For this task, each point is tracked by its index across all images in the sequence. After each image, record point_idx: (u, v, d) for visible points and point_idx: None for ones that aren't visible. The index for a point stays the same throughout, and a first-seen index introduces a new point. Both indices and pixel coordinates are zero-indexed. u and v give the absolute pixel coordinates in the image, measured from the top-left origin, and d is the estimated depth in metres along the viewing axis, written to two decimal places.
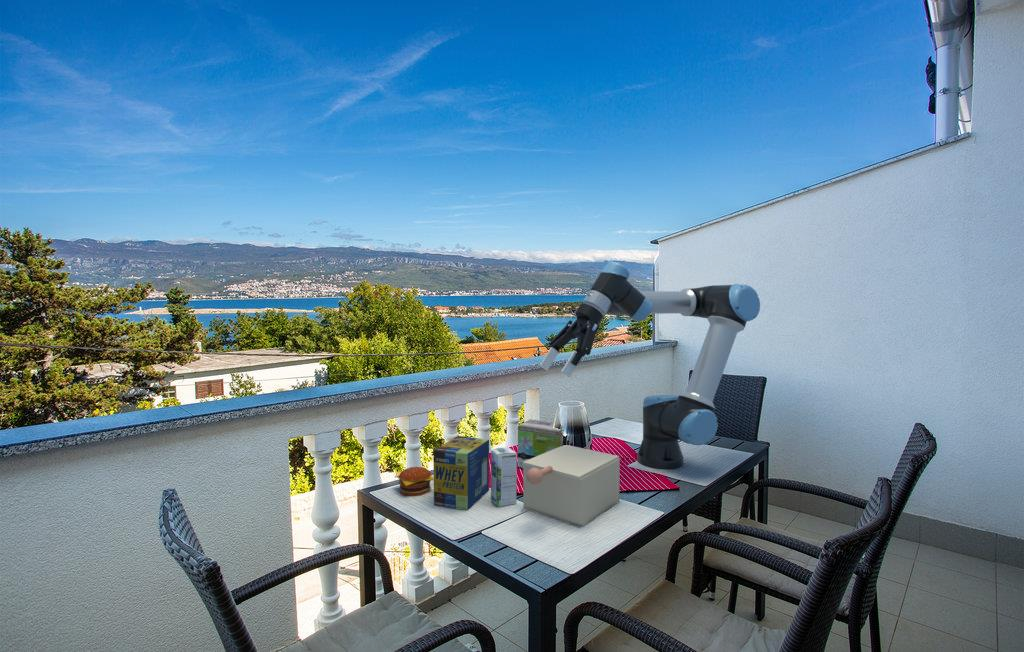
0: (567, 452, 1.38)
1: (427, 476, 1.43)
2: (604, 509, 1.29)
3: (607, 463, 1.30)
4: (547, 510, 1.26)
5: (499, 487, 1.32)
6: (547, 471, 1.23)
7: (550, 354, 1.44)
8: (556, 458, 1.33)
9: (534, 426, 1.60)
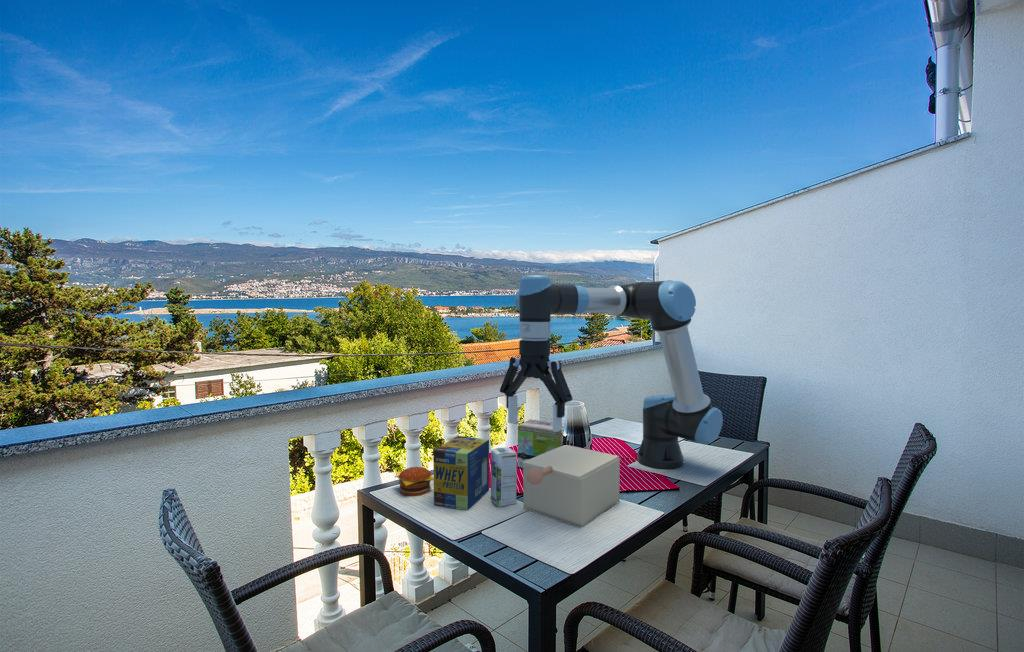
0: (567, 452, 1.38)
1: (427, 476, 1.43)
2: (604, 509, 1.29)
3: (607, 463, 1.30)
4: (547, 510, 1.26)
5: (499, 487, 1.32)
6: (547, 471, 1.23)
7: (512, 404, 1.23)
8: (556, 458, 1.33)
9: (534, 426, 1.60)
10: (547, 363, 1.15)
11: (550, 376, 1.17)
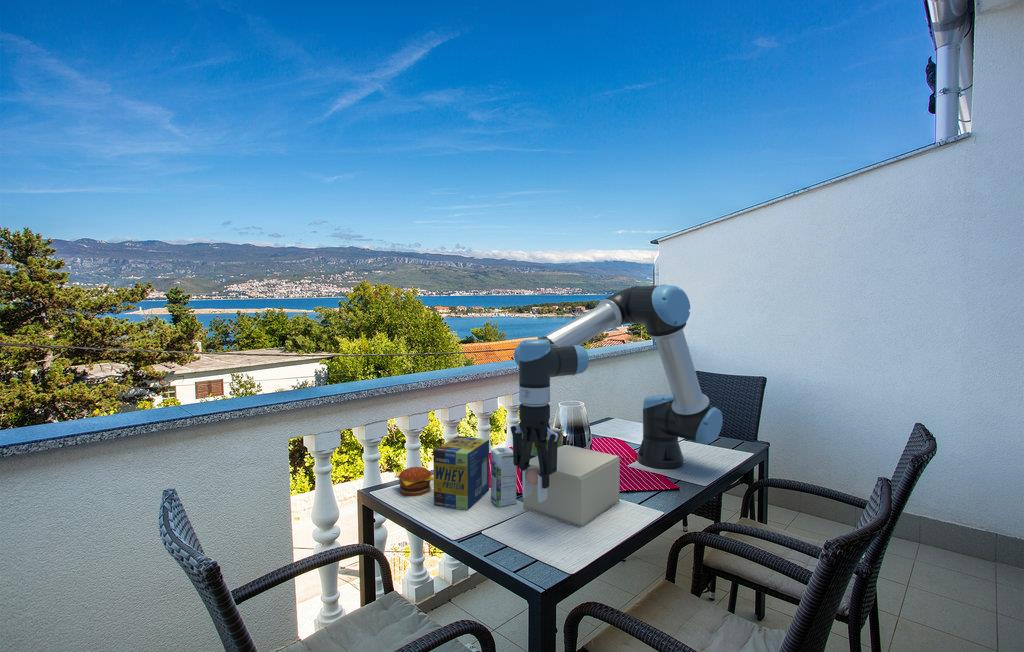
0: (567, 452, 1.38)
1: (427, 476, 1.43)
2: (604, 509, 1.29)
3: (607, 463, 1.30)
4: (547, 510, 1.26)
5: (499, 487, 1.32)
6: None
7: (526, 478, 1.21)
8: None
9: None
10: (547, 431, 1.16)
11: (545, 444, 1.18)
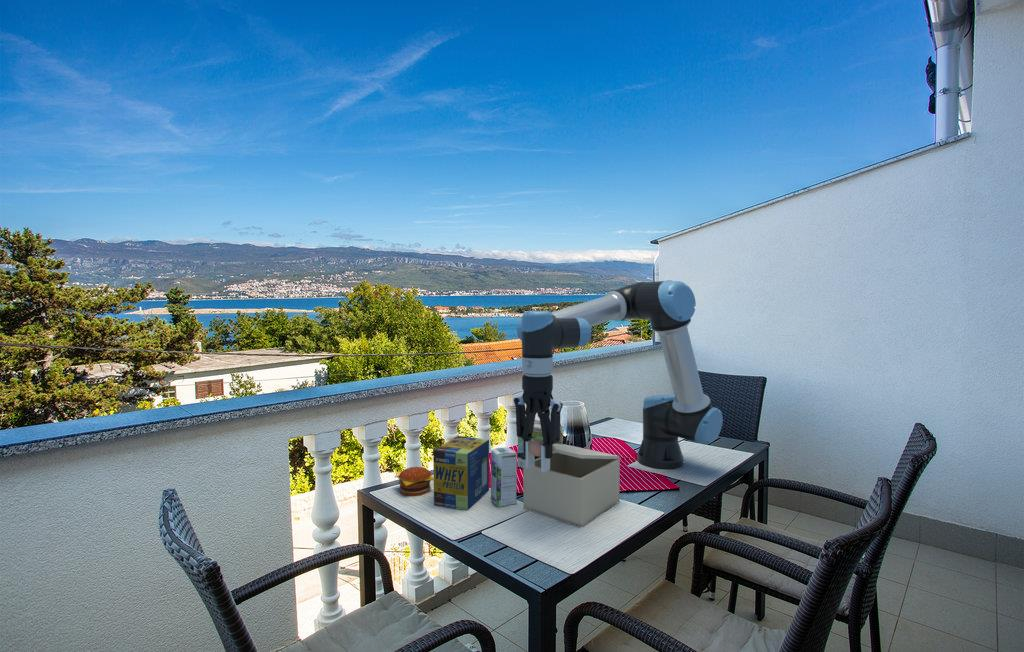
0: (568, 446, 1.39)
1: (427, 476, 1.43)
2: (604, 509, 1.29)
3: (608, 457, 1.30)
4: (547, 510, 1.26)
5: (499, 487, 1.32)
6: None
7: None
8: (557, 446, 1.33)
9: (534, 426, 1.60)
10: (550, 401, 1.17)
11: (548, 414, 1.19)
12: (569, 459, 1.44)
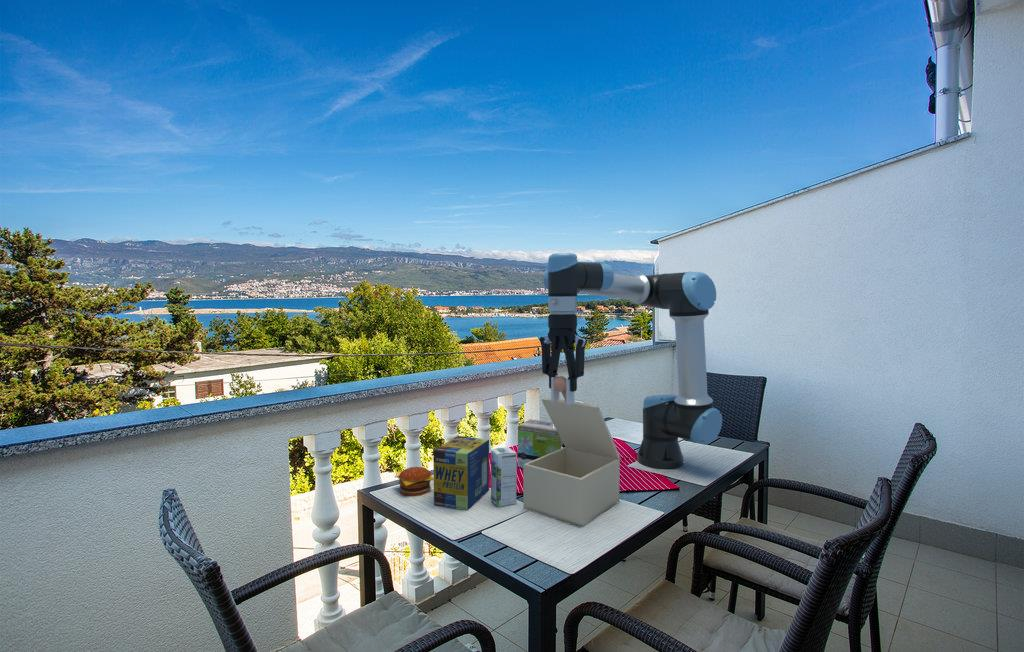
0: None
1: (427, 476, 1.43)
2: (604, 509, 1.29)
3: (612, 442, 1.32)
4: (547, 510, 1.26)
5: (499, 487, 1.32)
6: None
7: None
8: None
9: (534, 426, 1.60)
10: (575, 337, 1.24)
11: (573, 351, 1.27)
12: (569, 459, 1.44)
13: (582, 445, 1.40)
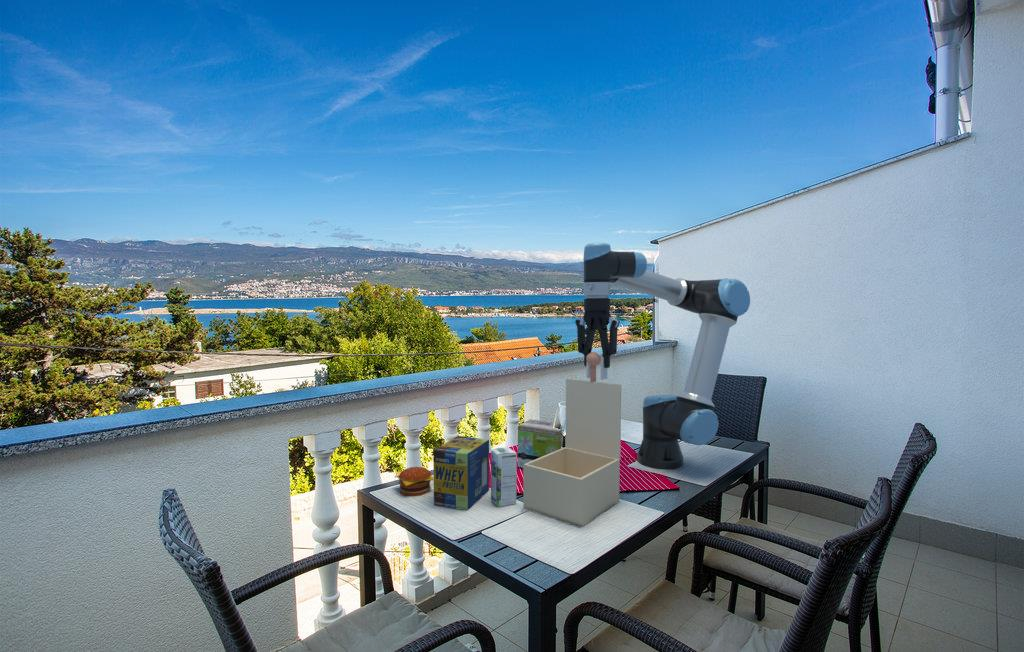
0: None
1: (427, 476, 1.43)
2: (604, 509, 1.29)
3: (620, 435, 1.35)
4: (547, 510, 1.26)
5: (499, 487, 1.32)
6: (595, 374, 1.40)
7: None
8: None
9: (534, 426, 1.60)
10: (609, 319, 1.38)
11: (606, 331, 1.40)
12: (569, 459, 1.44)
13: (586, 442, 1.42)
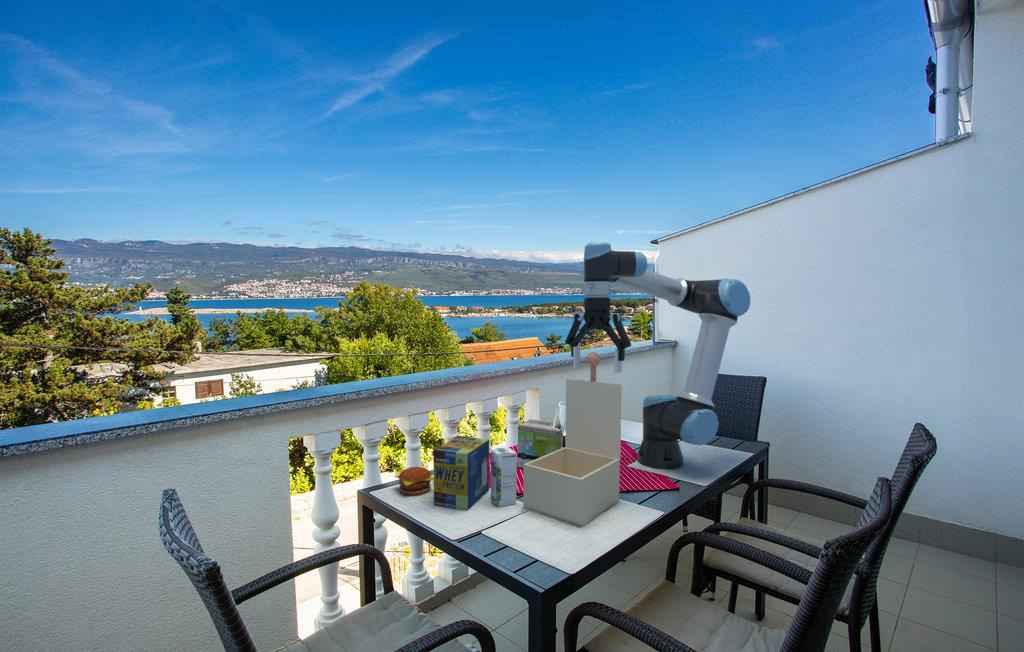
0: None
1: (427, 476, 1.43)
2: (604, 509, 1.29)
3: (620, 435, 1.35)
4: (547, 510, 1.26)
5: (499, 487, 1.32)
6: (595, 374, 1.40)
7: (576, 353, 1.45)
8: None
9: (534, 426, 1.60)
10: (609, 316, 1.38)
11: (611, 327, 1.39)
12: (569, 459, 1.44)
13: (586, 442, 1.42)
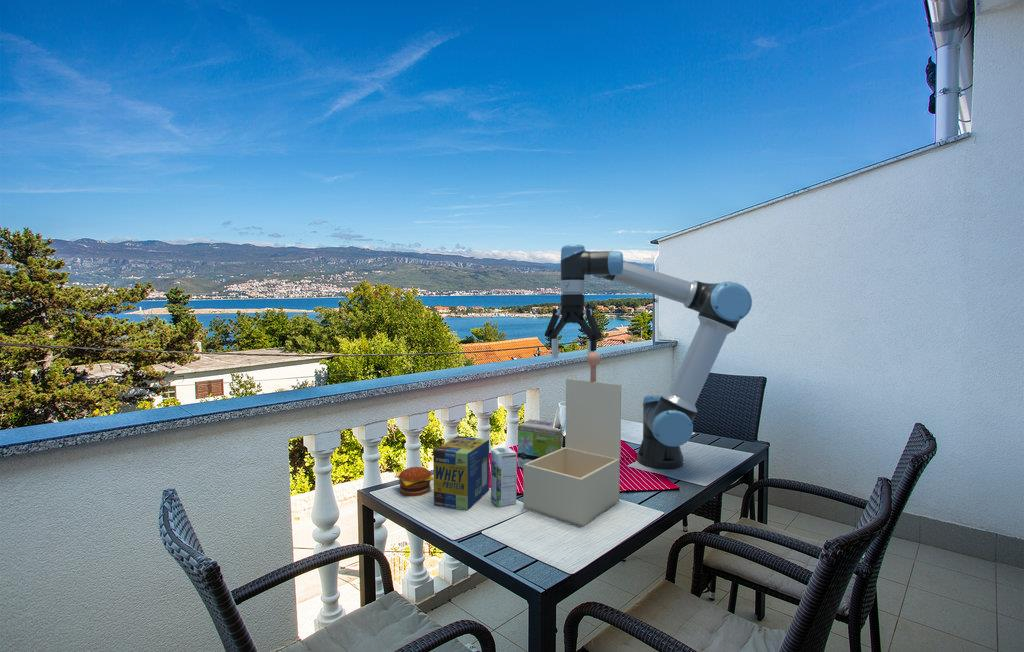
0: None
1: (427, 476, 1.43)
2: (604, 509, 1.29)
3: (620, 435, 1.35)
4: (547, 510, 1.26)
5: (499, 487, 1.32)
6: (595, 374, 1.40)
7: (554, 345, 1.61)
8: None
9: (534, 426, 1.60)
10: (583, 311, 1.54)
11: (585, 321, 1.55)
12: (569, 459, 1.44)
13: (586, 442, 1.42)
